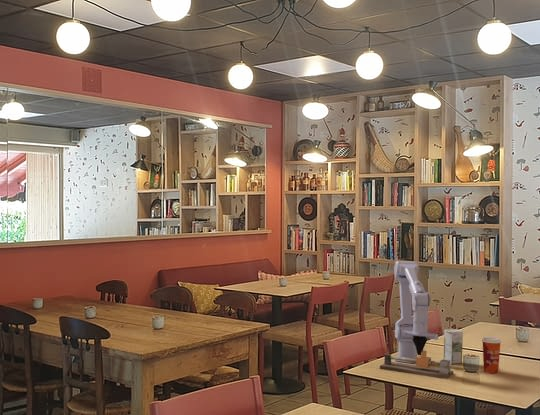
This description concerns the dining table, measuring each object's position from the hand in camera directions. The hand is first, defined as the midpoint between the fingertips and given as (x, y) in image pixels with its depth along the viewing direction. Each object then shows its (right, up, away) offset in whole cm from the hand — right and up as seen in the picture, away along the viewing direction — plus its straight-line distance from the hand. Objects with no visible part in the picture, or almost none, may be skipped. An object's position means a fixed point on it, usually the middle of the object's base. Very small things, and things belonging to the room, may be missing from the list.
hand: (419, 354), depth 268 cm
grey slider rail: (-1, -7, +1) cm, 7 cm away
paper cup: (+30, -8, +2) cm, 31 cm away
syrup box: (+19, -8, +18) cm, 27 cm away
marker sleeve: (+1, -5, -1) cm, 5 cm away
